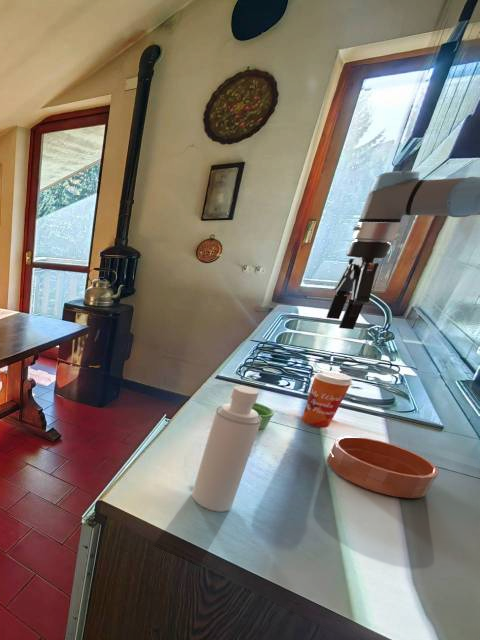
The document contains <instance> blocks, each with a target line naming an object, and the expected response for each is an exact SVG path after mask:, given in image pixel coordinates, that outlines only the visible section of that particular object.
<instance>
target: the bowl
mask: <svg viewBox="0 0 480 640" xmlns="http://www.w3.org/2000/svg"><path fill="white" fill-rule="evenodd" d="M326 463H327V465H328V467H329V468H330V469H331V470H332V471H333V472H334V473H336V474H337V475H339V476H340V477H342V478H344V479H345V480H347V481H348V482H351V483H352V484H355V485H357V486H359V487H362V488H364V489H366V490H369V491H372V492H375V493H377V494H378V493H379V494H382V495H386V496H391V497H396V498H397V497H398V498H403V499H419V498H420V499H421V498H423V497H425V496H426V495H427V494H428V492H429V490H430V489H431V488H432V486H433V484H434V482H435V480H436V478H437V477H438V475H439V468H437V466H436V465H435V464H434V463H433V462H431V461H429V460H428V459H427V458H425V457H423V456H422V455H420V454H417V453H415V452H413V451H411V450H409V449H406V448H403V447H401V446H398V445H395V444H393V443H388V442H387V441H386V442H385V441H383V440H382V441H381V440H377V439H372V438H369V437H361V436H353V435H352V436H351V435H350V436H340V437H338V438H336V439H335V441H334V443H333V446H332V448H331V450H330V452H329V455H328V457H327V459H326Z"/></svg>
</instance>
